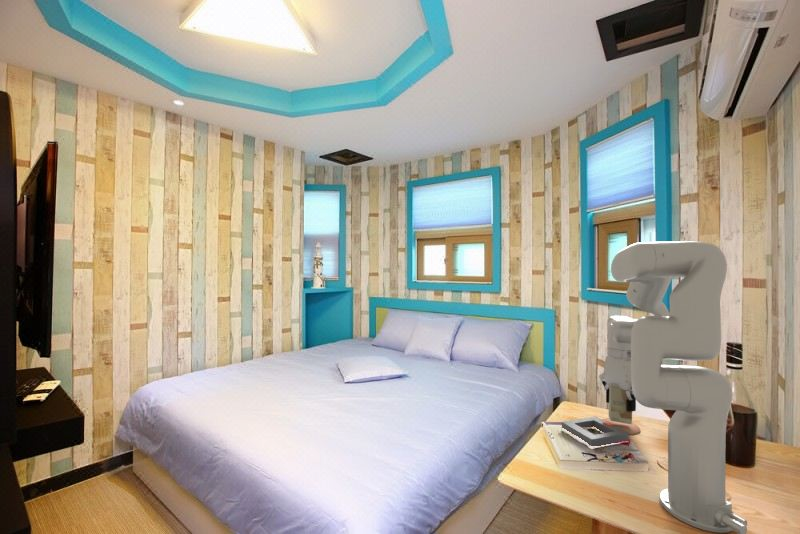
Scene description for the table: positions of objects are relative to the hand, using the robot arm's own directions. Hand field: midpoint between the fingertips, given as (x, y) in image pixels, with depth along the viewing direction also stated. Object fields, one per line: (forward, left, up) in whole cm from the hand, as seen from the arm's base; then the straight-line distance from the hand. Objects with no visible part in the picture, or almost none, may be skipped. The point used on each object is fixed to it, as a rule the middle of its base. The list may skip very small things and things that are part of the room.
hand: (620, 406), depth 116 cm
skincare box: (0, 0, -5) cm, 5 cm away
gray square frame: (-3, +14, -7) cm, 16 cm away
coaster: (0, 0, -7) cm, 7 cm away
